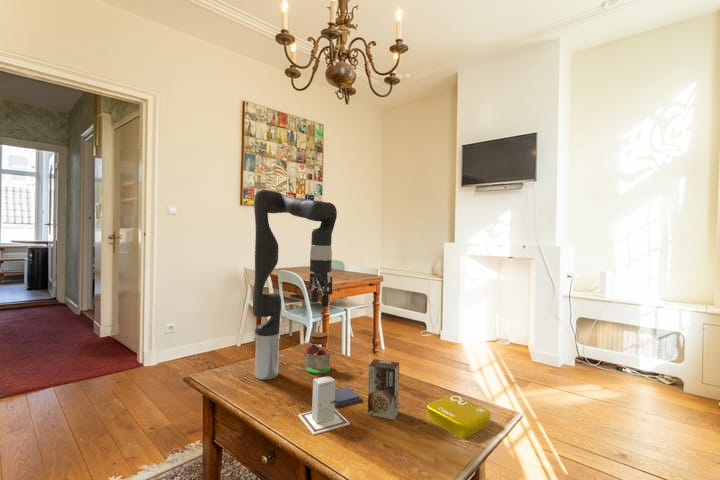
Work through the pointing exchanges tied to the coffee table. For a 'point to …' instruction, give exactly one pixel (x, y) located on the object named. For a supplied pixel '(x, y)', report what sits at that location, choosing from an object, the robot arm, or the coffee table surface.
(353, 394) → the ink pad
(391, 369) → the coffee box
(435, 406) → the element tile
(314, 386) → the skincare box
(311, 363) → the multicoloured piece
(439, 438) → the coffee table surface
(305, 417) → the marked card
